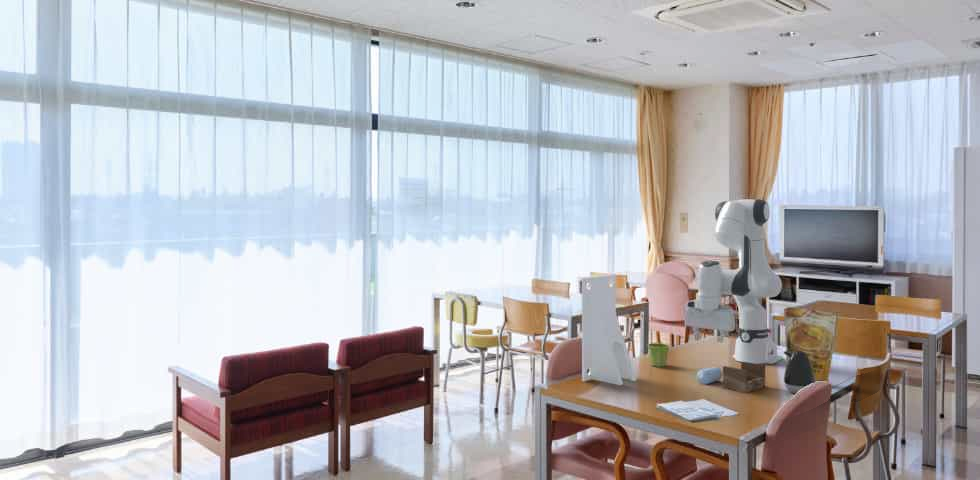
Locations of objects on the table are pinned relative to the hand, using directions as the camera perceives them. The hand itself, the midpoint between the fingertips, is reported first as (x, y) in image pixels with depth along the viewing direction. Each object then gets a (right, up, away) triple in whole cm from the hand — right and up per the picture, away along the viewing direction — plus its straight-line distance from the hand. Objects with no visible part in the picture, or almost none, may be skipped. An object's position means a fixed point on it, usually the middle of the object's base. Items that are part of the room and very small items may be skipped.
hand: (709, 340), depth 271 cm
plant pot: (-12, -15, +31) cm, 36 cm away
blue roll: (0, -16, +1) cm, 16 cm away
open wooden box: (+11, -16, -8) cm, 21 cm away
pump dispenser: (+27, -17, -16) cm, 36 cm away
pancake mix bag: (+37, -16, -1) cm, 40 cm away
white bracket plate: (-35, -16, +6) cm, 39 cm away
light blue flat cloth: (-15, -18, -38) cm, 45 cm away
